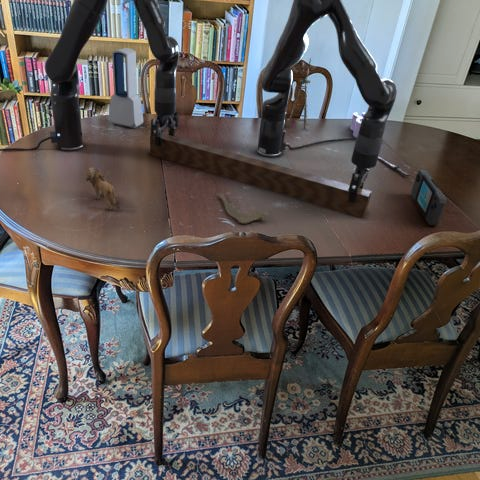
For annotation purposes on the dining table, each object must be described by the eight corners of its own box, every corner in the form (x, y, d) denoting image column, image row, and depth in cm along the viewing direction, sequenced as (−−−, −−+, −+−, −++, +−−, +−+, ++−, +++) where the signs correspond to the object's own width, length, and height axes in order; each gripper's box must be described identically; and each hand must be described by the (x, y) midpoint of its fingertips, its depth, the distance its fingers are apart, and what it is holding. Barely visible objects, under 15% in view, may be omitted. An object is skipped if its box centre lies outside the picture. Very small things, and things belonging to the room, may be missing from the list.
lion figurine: (83, 195, 144) (80, 168, 139) (97, 189, 147) (95, 163, 142) (112, 213, 136) (111, 185, 131) (127, 207, 140) (126, 180, 135)
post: (366, 212, 152) (372, 191, 147) (362, 218, 148) (368, 196, 144) (157, 150, 178) (157, 131, 174) (150, 154, 174) (149, 135, 170)
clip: (343, 126, 223) (346, 112, 219) (367, 127, 225) (371, 113, 221) (360, 142, 206) (364, 127, 202) (386, 142, 209) (390, 127, 205)
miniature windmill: (304, 129, 213) (316, 61, 197) (286, 126, 214) (297, 58, 198) (306, 123, 221) (318, 57, 205) (288, 120, 222) (299, 54, 206)
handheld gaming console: (409, 194, 166) (417, 168, 160) (416, 194, 166) (425, 168, 160) (428, 227, 146) (439, 199, 141) (437, 228, 147) (448, 200, 141)
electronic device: (143, 124, 200) (142, 50, 183) (134, 129, 194) (132, 53, 177) (118, 119, 203) (114, 45, 186) (108, 124, 196) (104, 48, 180)
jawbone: (251, 231, 136) (251, 225, 134) (200, 206, 146) (200, 200, 145) (270, 218, 141) (270, 213, 140) (219, 195, 152) (219, 189, 150)
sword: (412, 176, 179) (413, 173, 178) (406, 177, 178) (407, 174, 177) (361, 148, 202) (362, 145, 201) (356, 149, 201) (356, 146, 200)
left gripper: (167, 92, 170) (167, 135, 178) (144, 101, 159) (144, 146, 167) (185, 96, 167) (183, 139, 176) (162, 105, 156) (162, 151, 165)
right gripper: (360, 139, 146) (348, 185, 155) (348, 153, 135) (337, 202, 144) (384, 145, 144) (371, 191, 153) (374, 159, 133) (360, 209, 142)
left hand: (164, 142), depth 172 cm, fingers open, 8 cm apart
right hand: (354, 196), depth 148 cm, fingers open, 8 cm apart
